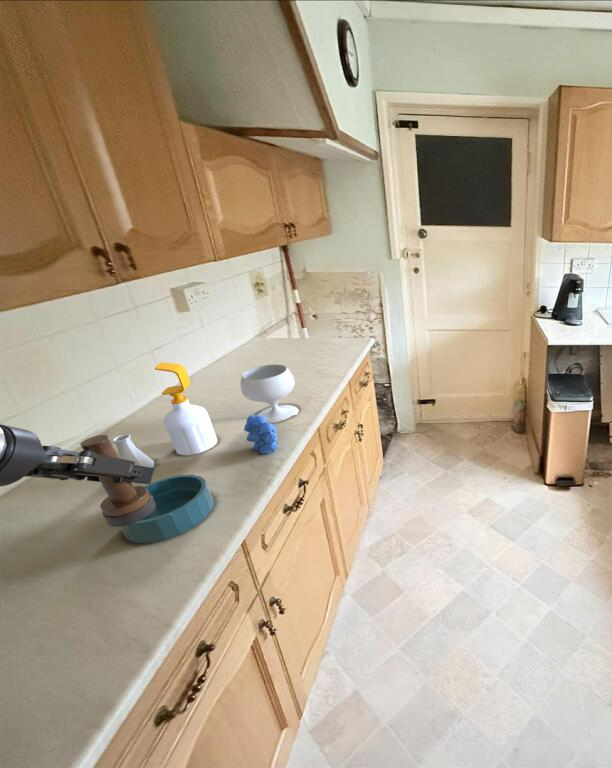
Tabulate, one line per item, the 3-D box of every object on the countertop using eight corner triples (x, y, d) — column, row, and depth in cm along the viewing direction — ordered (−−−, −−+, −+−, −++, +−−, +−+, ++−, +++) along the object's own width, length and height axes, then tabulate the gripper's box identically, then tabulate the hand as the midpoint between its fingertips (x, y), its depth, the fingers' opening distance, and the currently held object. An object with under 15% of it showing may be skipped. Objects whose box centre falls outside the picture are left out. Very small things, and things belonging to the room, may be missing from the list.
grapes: (296, 451, 106) (285, 412, 101) (272, 464, 101) (259, 424, 96) (268, 440, 111) (257, 402, 106) (244, 452, 106) (231, 413, 101)
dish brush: (96, 528, 65) (52, 452, 59) (127, 501, 71) (90, 430, 65) (137, 525, 66) (98, 450, 60) (165, 499, 72) (132, 428, 65)
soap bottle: (184, 441, 110) (151, 359, 100) (222, 436, 113) (194, 356, 102) (171, 460, 102) (133, 373, 92) (211, 454, 105) (179, 369, 95)
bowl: (106, 547, 77) (92, 524, 74) (162, 496, 90) (152, 475, 87) (184, 545, 78) (174, 522, 75) (228, 494, 91) (220, 473, 88)
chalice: (244, 430, 116) (229, 384, 109) (258, 408, 128) (245, 365, 122) (297, 424, 119) (285, 378, 113) (305, 403, 131) (295, 361, 125)
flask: (125, 466, 100) (108, 433, 96) (161, 460, 102) (146, 427, 98) (112, 484, 94) (94, 449, 90) (150, 476, 96) (134, 442, 92)
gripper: (-113, 486, 46) (82, 500, 68) (35, 482, 47) (181, 496, 69) (-83, 424, 49) (96, 456, 71) (57, 420, 50) (191, 453, 72)
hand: (138, 476), depth 70 cm, fingers closed on dish brush, 3 cm apart
